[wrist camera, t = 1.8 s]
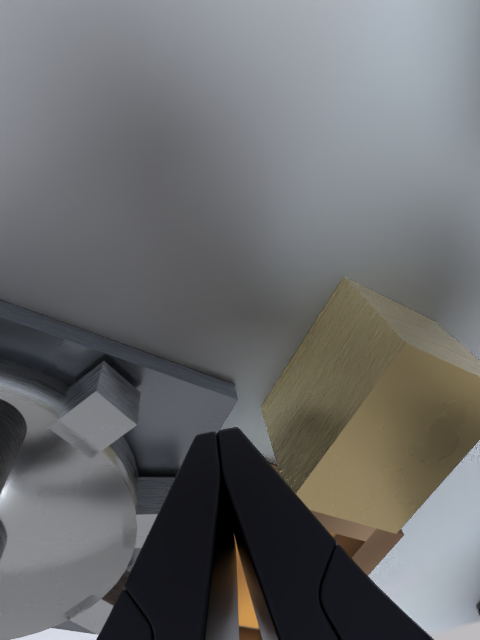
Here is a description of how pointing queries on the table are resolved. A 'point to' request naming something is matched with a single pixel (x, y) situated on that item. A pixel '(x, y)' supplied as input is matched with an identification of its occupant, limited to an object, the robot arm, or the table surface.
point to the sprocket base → (138, 369)
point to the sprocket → (68, 497)
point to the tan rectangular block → (373, 410)
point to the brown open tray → (353, 537)
